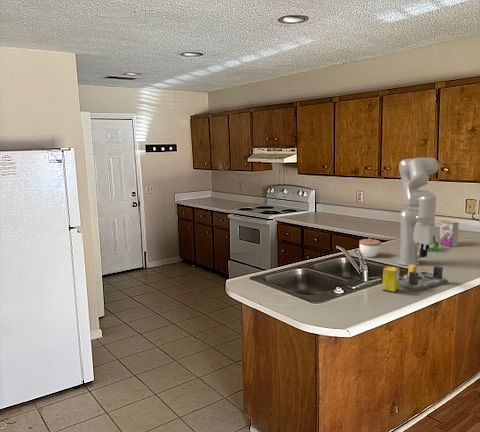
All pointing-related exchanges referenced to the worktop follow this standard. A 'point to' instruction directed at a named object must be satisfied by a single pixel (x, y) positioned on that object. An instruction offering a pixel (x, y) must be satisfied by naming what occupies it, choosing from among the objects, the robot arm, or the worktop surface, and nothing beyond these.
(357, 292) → the worktop surface
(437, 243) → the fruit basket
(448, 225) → the candy bar box
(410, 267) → the handle
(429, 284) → the compartment sorting tray
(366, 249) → the lidded bowl
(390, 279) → the supplement box
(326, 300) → the worktop surface
